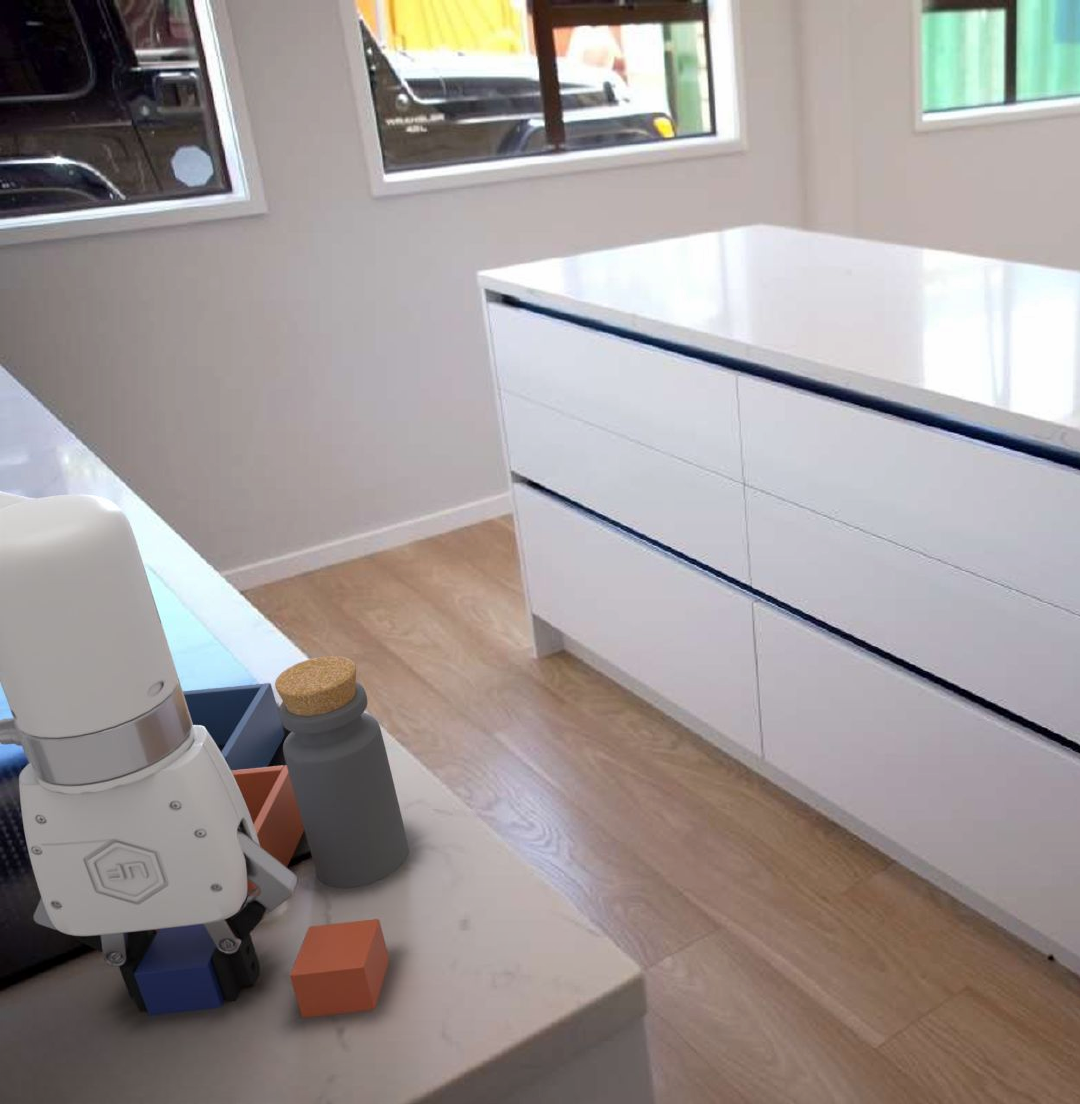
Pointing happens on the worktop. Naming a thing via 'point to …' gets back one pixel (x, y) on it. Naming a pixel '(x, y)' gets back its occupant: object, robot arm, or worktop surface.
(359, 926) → the terracotta block
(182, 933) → the navy block
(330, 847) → the bottle
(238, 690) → the blue bin
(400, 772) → the worktop surface
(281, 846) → the terracotta bin
